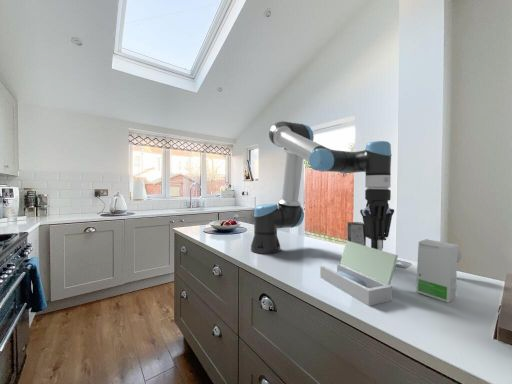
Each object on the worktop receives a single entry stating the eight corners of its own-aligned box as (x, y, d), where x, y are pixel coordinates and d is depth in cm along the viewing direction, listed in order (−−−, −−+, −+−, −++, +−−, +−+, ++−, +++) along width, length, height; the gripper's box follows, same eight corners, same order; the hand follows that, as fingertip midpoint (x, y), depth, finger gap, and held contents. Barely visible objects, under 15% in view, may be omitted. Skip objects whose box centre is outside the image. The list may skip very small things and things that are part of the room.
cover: (346, 240, 86) (348, 241, 86) (340, 263, 85) (341, 263, 86) (396, 254, 67) (398, 255, 68) (388, 284, 67) (390, 284, 67)
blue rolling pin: (334, 278, 80) (337, 269, 80) (340, 281, 81) (344, 273, 81) (356, 289, 71) (360, 280, 71) (363, 293, 72) (367, 284, 72)
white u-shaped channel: (320, 277, 82) (320, 266, 82) (339, 274, 85) (339, 263, 85) (368, 305, 62) (368, 290, 62) (391, 300, 65) (391, 286, 65)
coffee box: (366, 262, 99) (366, 224, 99) (350, 261, 101) (350, 224, 100) (361, 256, 108) (361, 221, 108) (346, 255, 109) (346, 221, 109)
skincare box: (415, 292, 71) (416, 241, 70) (423, 287, 75) (424, 238, 74) (450, 303, 64) (451, 246, 64) (457, 297, 68) (458, 243, 68)
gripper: (372, 188, 72) (371, 264, 72) (402, 188, 77) (401, 260, 77) (353, 188, 79) (353, 257, 79) (382, 188, 84) (381, 254, 84)
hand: (376, 258), depth 78 cm, fingers closed
